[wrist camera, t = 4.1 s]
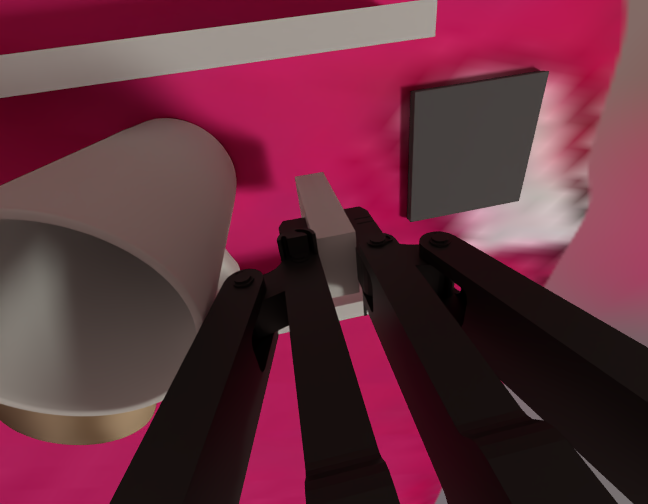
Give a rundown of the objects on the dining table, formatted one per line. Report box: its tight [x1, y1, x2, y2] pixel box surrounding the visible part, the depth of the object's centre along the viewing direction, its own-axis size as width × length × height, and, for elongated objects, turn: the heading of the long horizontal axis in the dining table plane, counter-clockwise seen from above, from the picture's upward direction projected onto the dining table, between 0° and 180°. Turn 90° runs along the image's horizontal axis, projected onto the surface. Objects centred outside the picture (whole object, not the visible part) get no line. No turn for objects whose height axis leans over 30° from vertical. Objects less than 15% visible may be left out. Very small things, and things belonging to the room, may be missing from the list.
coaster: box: [0, 403, 157, 445], centre depth 25 cm, size 11×11×1 cm
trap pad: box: [407, 71, 549, 222], centre depth 20 cm, size 8×8×1 cm
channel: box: [0, 0, 437, 334], centre depth 17 cm, size 26×15×4 cm, turn 97°
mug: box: [0, 118, 240, 416], centre depth 14 cm, size 10×7×12 cm, turn 28°
